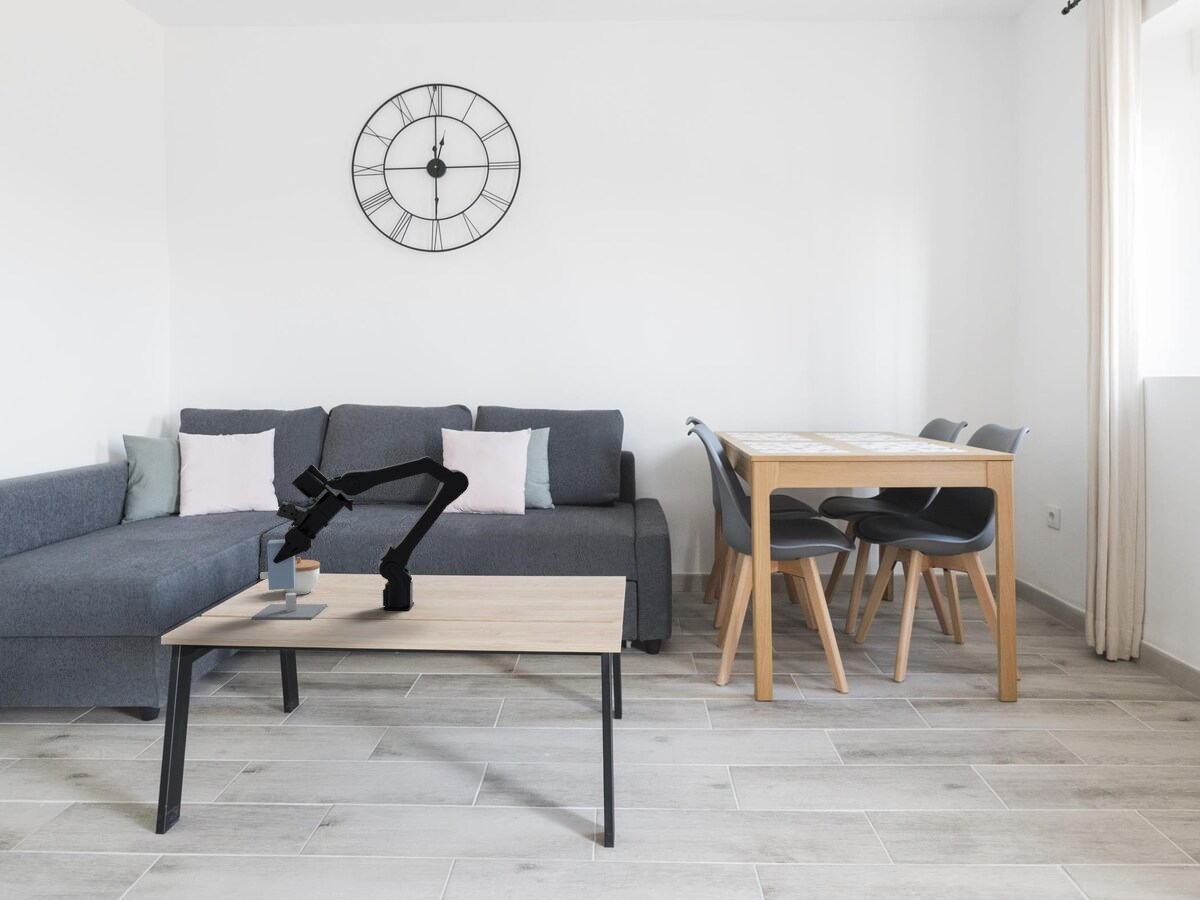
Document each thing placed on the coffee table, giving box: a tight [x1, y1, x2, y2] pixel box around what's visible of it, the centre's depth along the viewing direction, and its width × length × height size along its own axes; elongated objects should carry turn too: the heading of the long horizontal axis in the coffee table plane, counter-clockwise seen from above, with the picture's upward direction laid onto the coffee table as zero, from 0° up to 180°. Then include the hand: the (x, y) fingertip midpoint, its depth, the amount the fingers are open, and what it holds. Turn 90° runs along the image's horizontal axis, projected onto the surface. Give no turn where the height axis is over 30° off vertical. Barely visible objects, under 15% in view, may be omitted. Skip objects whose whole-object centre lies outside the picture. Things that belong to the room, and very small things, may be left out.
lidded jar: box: [283, 556, 321, 596], centre depth 215 cm, size 11×11×9 cm
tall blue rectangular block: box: [259, 538, 296, 591], centre depth 192 cm, size 8×6×11 cm
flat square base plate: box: [251, 592, 328, 620], centre depth 195 cm, size 14×12×4 cm
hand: (275, 559), depth 192 cm, fingers closed on tall blue rectangular block, 6 cm apart
